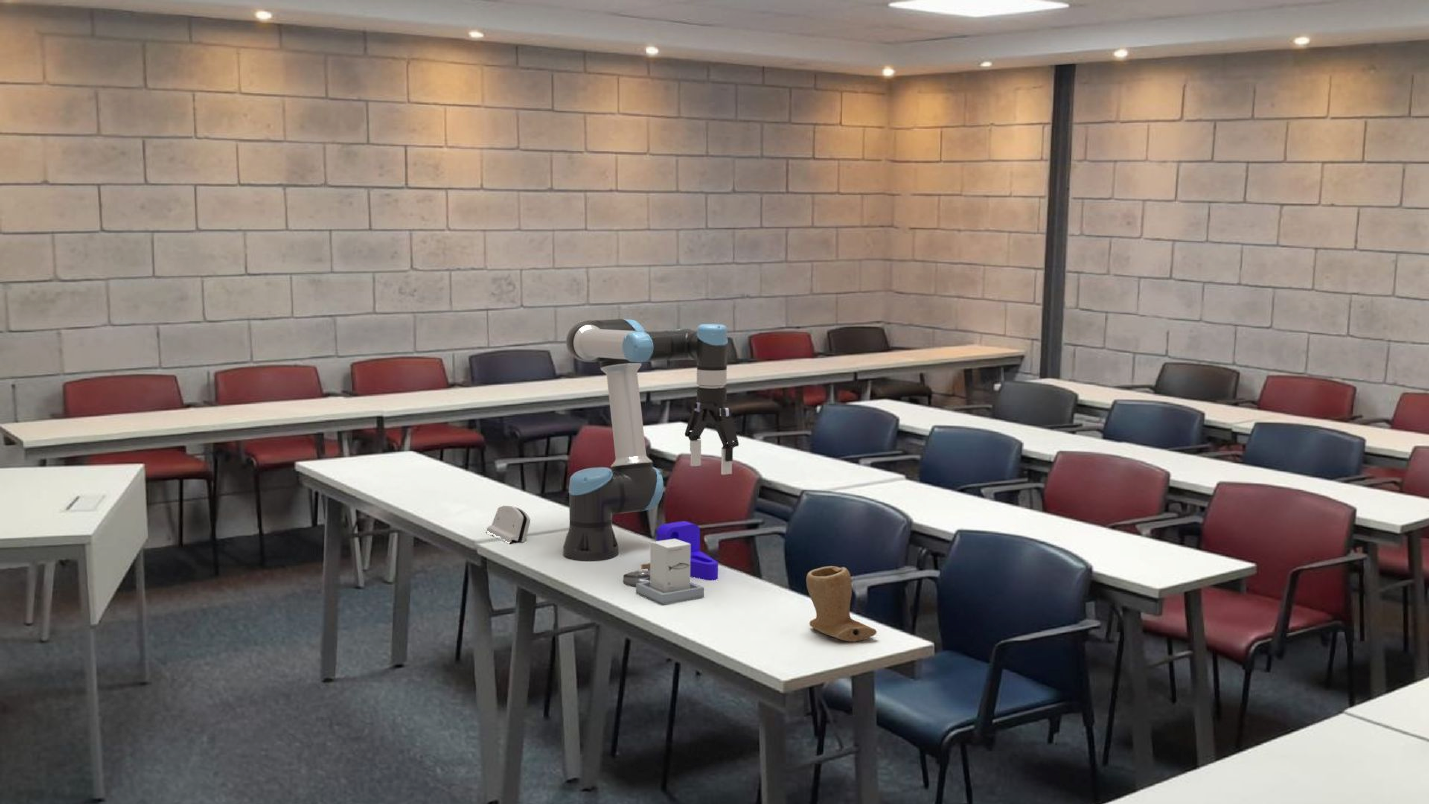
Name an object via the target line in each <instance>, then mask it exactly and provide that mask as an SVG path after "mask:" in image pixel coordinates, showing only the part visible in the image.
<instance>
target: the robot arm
mask: <svg viewBox="0 0 1429 804" xmlns="http://www.w3.org/2000/svg"><path fill="white" fill-rule="evenodd" d="M565 338H566V340H565V343H566V349H567V351H568V352H569V354H570V355H571V356H572V357H573V358H574V359H576V360H578V361H580V362H585V363H599V366H600V370H601V371H602V372H603V373H604V374H605V376H606V380H607V390H608V392H607V393H608V399H609V408H610V418H611V427H612V435H613V445H614V455H615V460H614V461H613V463H612V464H611V465H610V467H611V468H609V467H603V466H599V467H589V468H584V469H580V470H577V471H576V472H573V473H572V475H571V476H570V478H569V485H568V493H569V494H568V498H569V499H568V500H569V502H568V506H569V509H568V511H569V527H568V530H567V533H566V537H565V541H564V544H563V547H562V552H563V553H562V555H563V556H564V557H565V558H567V559H572V560H578V561H603V560H608V559H612V558H614V557H615V558H616V557H617V556H618V555H619V544H618V543H619V542H618V541H617V538H616V535H615V532H614V528H613V515H619V514H626V513H634V512H644V511H648V510H652V509H654V508H656V507H657V506H658V505H659V503H660V502H661V500H662V496H663V493H664V480H663V479H664V478H663V475H662V474H661V471H660V470H659V468H657V467H654V463H653V460H652V459H651V458H649V457H648V456H647V451H646V442H645V441H646V440H645V432H644V421H643V415H642V414H643V413H642V412H643V411H642V405H641V395H640V388H639V387H640V386H639V379H638V377H639V376H638V371H639V369H640V368H641V366H642V363H644V362H659V361H679V360H680V361H681V360H683V361H685V360H692V361H693V360H694V361H696V385H697V387H696V402H693V403H692V404H691V413H690V416H689V418H688V422H687V425H686V429H685V432H684V436H685V437H687V438H688V439H689V447H690V448H689V451H690V467H698V466H701V465H702V440H701V439H702V438H701V436H702V434H703V432H704V430H705V428H706V427H707V424H710V425H712V426H713V427H715V430H716V432H717V434H718V437H719V439H720V442H721V444H722V447H721V449H720V450H721V457H720V458H721V463H720V464H721V465H720V468H721V469H720V470H721V471H720V473H721V475H723V476H724V475H729V474H730V475H732V473H733V461H734V460H733V459H734V456H733V454H734V448H737V447H739V445H740V443H739V440H738V436H737V431H736V428H735V424H734V420H733V415H732V408H731V407H724V403H725V402H727V400H728V399H727V396H728V395H727V390H728V389H727V387H726V385H727V384H728V383H727V382H728V380H727V376H728V375H727V373H728V372H727V369H728V367H727V366H728V345H729V344H728V343H729V340H728V329H727V327H726V325H725V324H717V323H703V324H699V325H698V326H697V330H694V329H691V328H679V329H675V330H658V331H657V330H655V331H653V330H652V331H650V330H648V331H647V330H646V331H645V328H643V326H642V325H641V324H640V322H638V321H637V320H634V319H624V318H620V319H618V318H617V319H597V320H593V319H592V320H591V319H589V320H585V321H581V322H578V323H576V324H575V325H573V326H572V327H571V329H569V331H568V333H567V335H566V337H565Z"/></svg>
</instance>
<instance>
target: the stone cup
mask: <svg viewBox="0 0 1429 804" xmlns="http://www.w3.org/2000/svg"><path fill="white" fill-rule="evenodd" d="M852 584H853V583H852V578H851V573H850V571H849V570H848V568H846V567H844V566H842V567H839V566H834V565H830V566H821V567H819V568H815V569H812V570H810V571H809V572H808V573H807V574H806V589H807V591H808V594H809V597H810V600H811V602H812V604H813V607H814V610H815V613H816V616H815V618H814V619H811V620H810V621H809V626H810V627H811V628H813V629H814V630H816V631H817V632H821V633H822V634H825V635H828V636H829V637H833V638H835V639H839V640H842V641H846V642H851V643H854V642H860V641H864V640H867V639H870V638H872V637H874V636H875V635H877V633H878V630H876V629H875V628H872V627H870V626H868V625H866V624H864V623H863V622H860V621H857V620H855V619H853V618H852V617H851V613H850V609H851V608H850V607H851V600H852V594H853V588H852V587H853V586H852Z"/></svg>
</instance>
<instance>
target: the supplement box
mask: <svg viewBox="0 0 1429 804" xmlns="http://www.w3.org/2000/svg"><path fill="white" fill-rule="evenodd" d="M649 550H650V552H649V553H650V560H649V561H650V588H652V589H655V590H657V591H659V592H662V593H669V592H675V591H680V590H686V589H690V582H691V577H690V559H691V544H689V543H686V542H684V541H680V540H677V539H669V540H662V541H657V540H656V541H651V542H650V549H649Z"/></svg>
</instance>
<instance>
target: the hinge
mask: <svg viewBox="0 0 1429 804" xmlns="http://www.w3.org/2000/svg"><path fill="white" fill-rule="evenodd" d="M491 523H492V524H491V525H489V526H488V527H486V530H487V531H489V532H490V533H493V534H495V535H496V536H500V537H501V538H502V539H505V541H507V542H511V543H512V541H516V542H518V540H520V541H519V542H521V543H525V542H526V540H527V536H528V531H529V527H530V524H531V517H530V516H529V514H528V513H526V511H524V510H523V509H520V508H519V507H517V506H511V505H502V506H498V508H497V510H496V512H495V515H494V518H493V521H492V522H491Z"/></svg>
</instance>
